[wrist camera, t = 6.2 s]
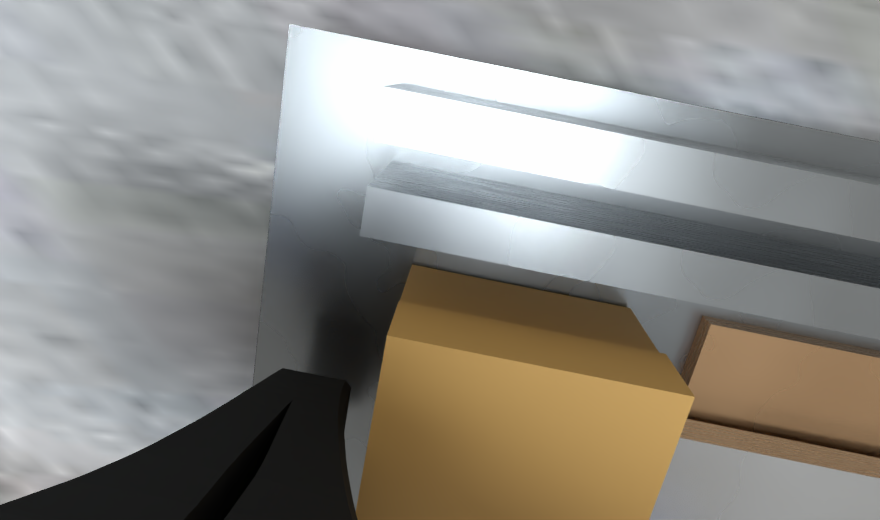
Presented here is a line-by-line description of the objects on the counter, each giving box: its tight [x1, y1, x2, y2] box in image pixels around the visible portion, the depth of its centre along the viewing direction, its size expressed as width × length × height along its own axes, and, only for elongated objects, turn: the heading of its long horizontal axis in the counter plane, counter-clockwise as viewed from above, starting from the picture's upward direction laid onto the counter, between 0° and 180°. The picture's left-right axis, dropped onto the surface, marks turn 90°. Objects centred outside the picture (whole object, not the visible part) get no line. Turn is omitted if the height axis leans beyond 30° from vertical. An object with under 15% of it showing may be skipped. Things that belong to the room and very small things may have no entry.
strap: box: [649, 419, 880, 520], centre depth 11 cm, size 2×11×1 cm, turn 79°
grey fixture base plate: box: [253, 24, 880, 511], centre depth 11 cm, size 11×20×4 cm, turn 79°
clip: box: [356, 265, 695, 520], centre depth 10 cm, size 6×4×3 cm, turn 169°
